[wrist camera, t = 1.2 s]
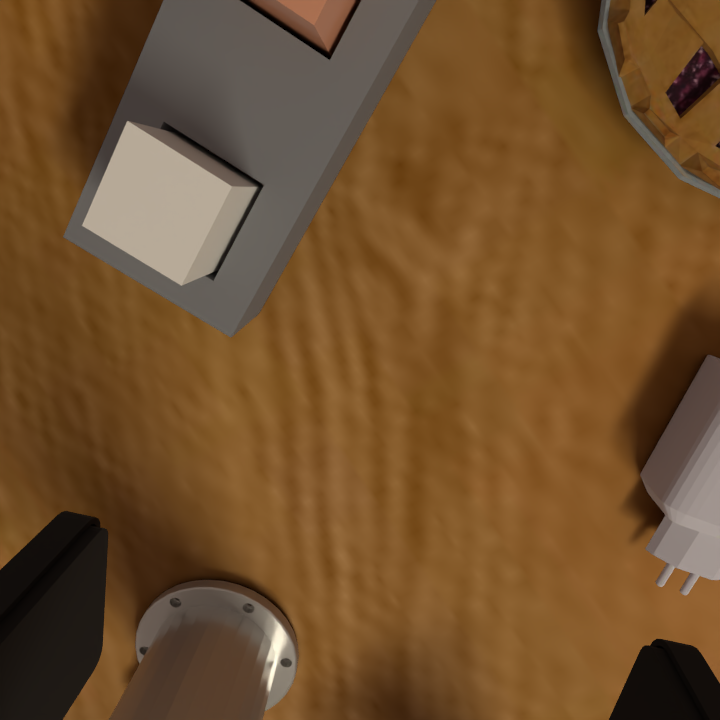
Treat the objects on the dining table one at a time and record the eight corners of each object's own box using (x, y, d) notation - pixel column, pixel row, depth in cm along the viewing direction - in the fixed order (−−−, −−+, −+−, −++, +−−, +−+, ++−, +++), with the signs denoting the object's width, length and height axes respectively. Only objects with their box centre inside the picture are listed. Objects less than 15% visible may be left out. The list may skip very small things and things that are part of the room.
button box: (258, 313, 35) (231, 337, 30) (119, 229, 35) (63, 237, 29) (455, -33, 29) (467, -88, 23) (291, -148, 28) (262, -234, 23)
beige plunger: (222, 267, 31) (181, 285, 25) (142, 219, 30) (82, 225, 25) (265, 187, 29) (231, 186, 24) (182, 134, 29) (127, 120, 23)
